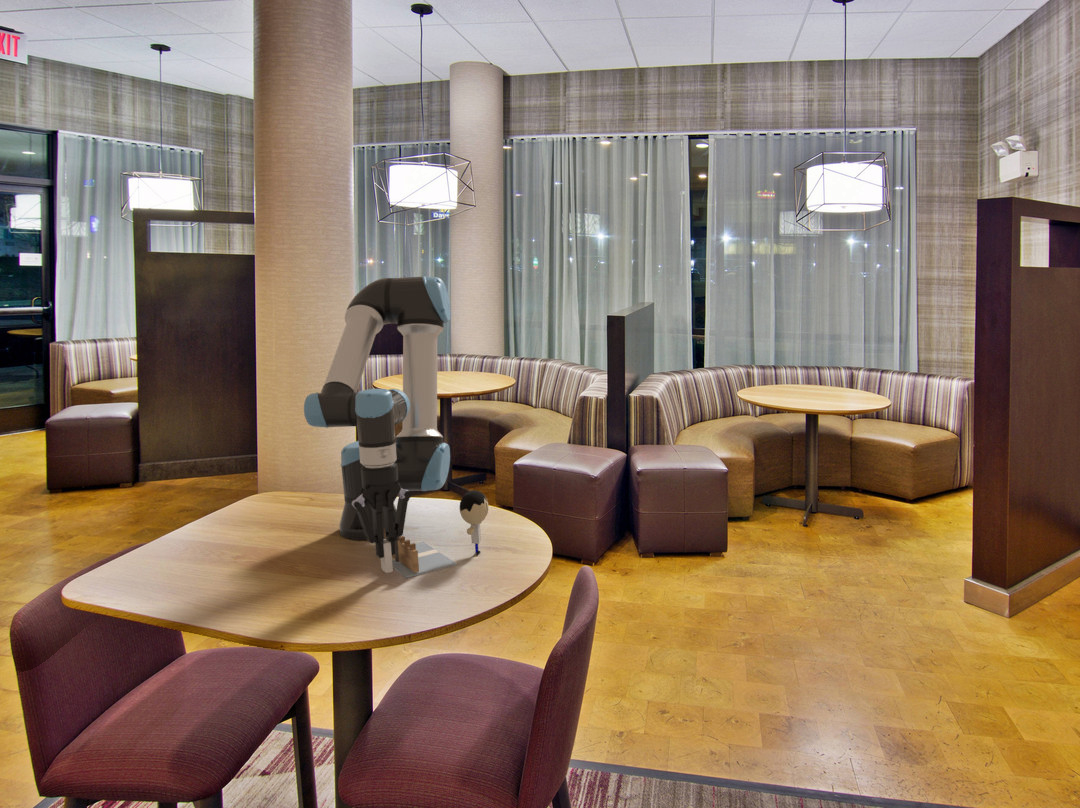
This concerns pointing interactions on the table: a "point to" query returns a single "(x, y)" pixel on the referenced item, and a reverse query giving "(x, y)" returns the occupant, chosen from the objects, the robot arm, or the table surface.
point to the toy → (474, 514)
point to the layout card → (424, 561)
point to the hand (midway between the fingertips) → (387, 570)
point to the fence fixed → (396, 555)
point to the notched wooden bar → (408, 554)
